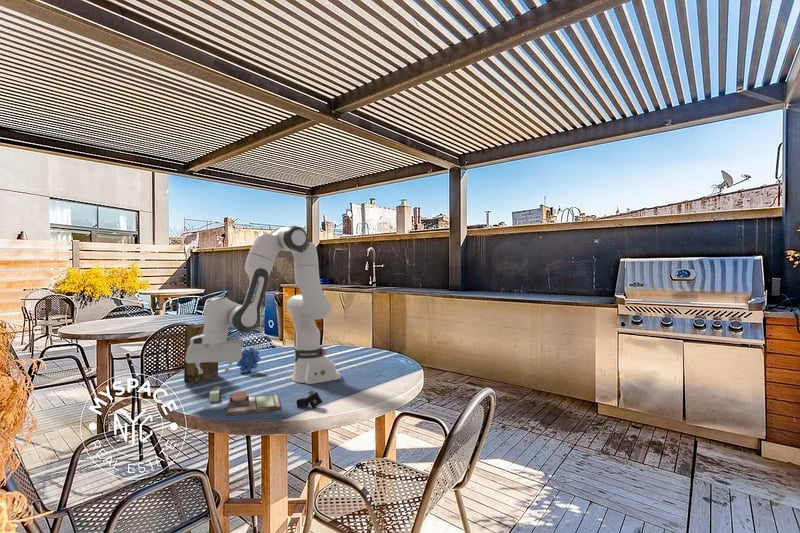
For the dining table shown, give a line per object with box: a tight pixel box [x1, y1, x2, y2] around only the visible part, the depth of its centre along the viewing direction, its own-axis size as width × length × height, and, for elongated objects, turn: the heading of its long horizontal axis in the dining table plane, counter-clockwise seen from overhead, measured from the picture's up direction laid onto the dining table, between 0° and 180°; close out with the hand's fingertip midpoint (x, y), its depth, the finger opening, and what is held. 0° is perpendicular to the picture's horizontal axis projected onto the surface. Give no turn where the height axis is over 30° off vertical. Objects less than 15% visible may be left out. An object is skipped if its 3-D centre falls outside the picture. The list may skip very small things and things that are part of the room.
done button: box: [231, 391, 248, 402], centre depth 142 cm, size 5×5×2 cm
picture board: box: [226, 393, 282, 416], centre depth 143 cm, size 18×14×3 cm
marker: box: [208, 385, 221, 403], centre depth 152 cm, size 3×10×3 cm, turn 22°
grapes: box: [236, 347, 261, 373], centre depth 190 cm, size 12×7×12 cm, turn 87°
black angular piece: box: [295, 390, 324, 409], centre depth 142 cm, size 9×2×6 cm
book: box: [183, 323, 219, 385], centre depth 176 cm, size 16×6×25 cm, turn 168°
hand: (213, 373), depth 153 cm, fingers open, 8 cm apart
